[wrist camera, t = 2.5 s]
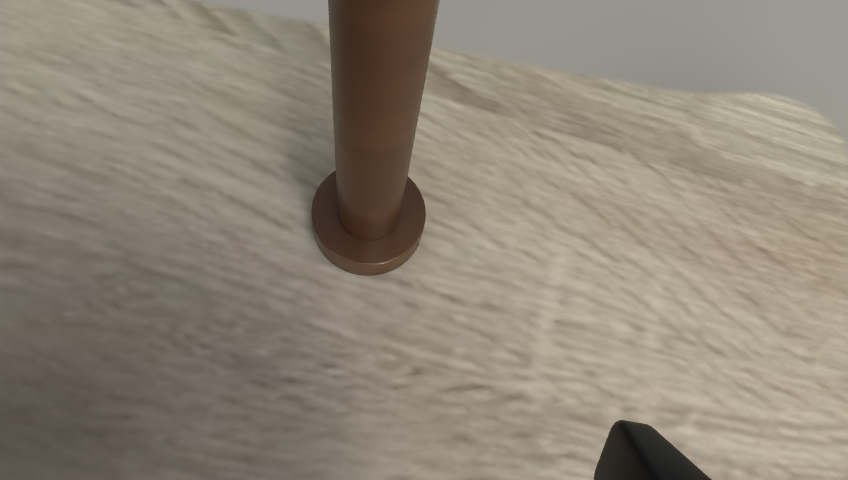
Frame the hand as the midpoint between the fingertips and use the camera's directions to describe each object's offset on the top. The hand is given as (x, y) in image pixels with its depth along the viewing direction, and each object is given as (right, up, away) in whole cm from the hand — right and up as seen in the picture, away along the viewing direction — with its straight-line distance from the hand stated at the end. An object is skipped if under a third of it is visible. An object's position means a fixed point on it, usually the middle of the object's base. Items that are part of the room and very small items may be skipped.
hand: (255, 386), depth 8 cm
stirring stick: (0, +2, +16) cm, 16 cm away
